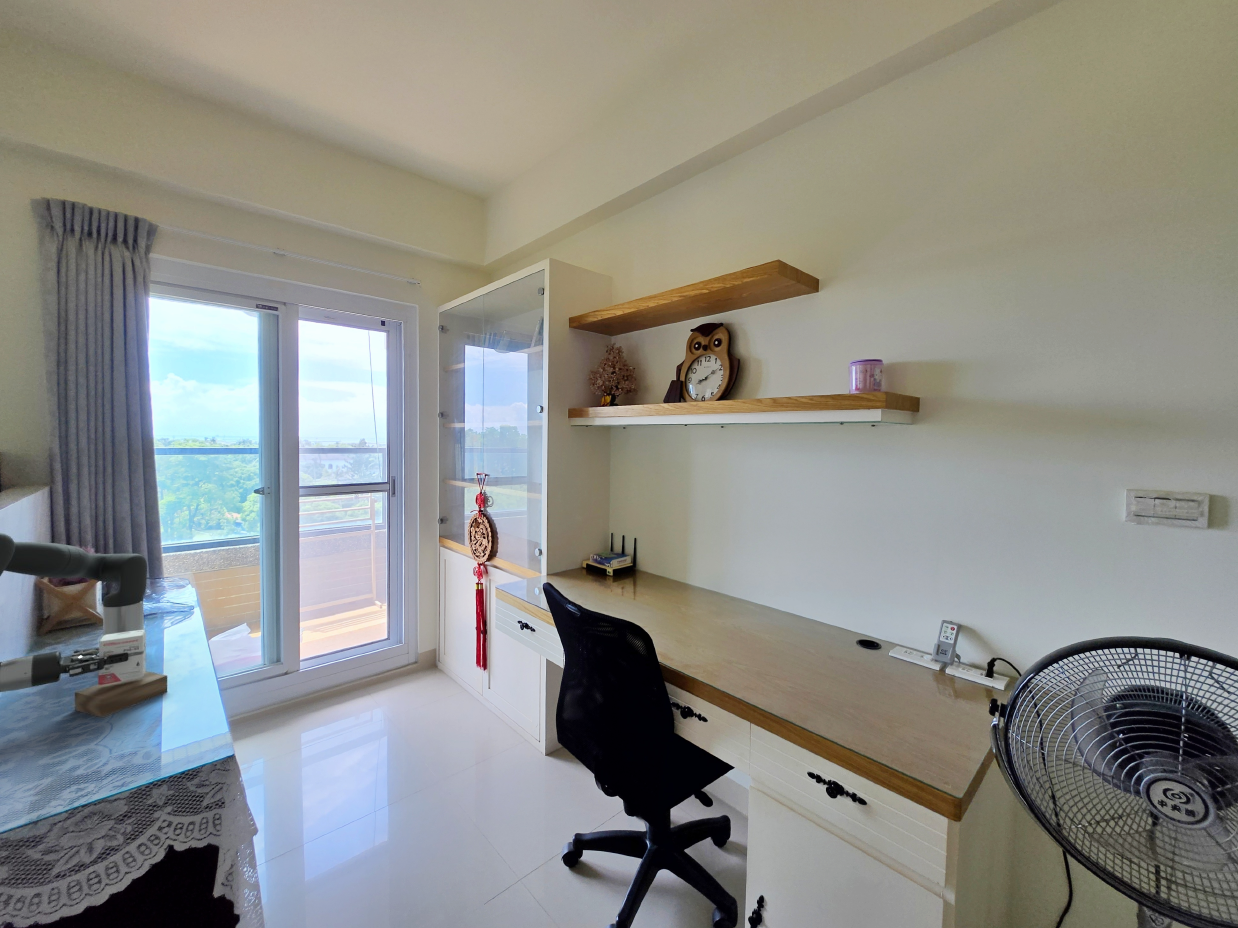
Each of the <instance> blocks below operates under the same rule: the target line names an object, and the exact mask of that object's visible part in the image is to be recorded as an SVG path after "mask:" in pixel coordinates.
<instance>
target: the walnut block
mask: <svg viewBox="0 0 1238 928" xmlns="http://www.w3.org/2000/svg"><path fill="white" fill-rule="evenodd" d="M166 693H168V675H166V674H162V673H157V672H153V671H148V670H145V673H144V675H143V677H141V678H136V679H131V680H125V681H120V682H114V683H109V684H104V685H98V684H95V685H92V686H89V687H85V688H83V689H80V690H77V691H75V692H74V710H75V711H76V712H82V713H84V714H88V715H91V716H92V715H93V716H96V717H99V718H104V717H108V716H110V715H112V714H115V713H117V712H120V711H123V710H125V709H128V708H130V707H134V706H135V705H138V704H140V703H144V702H145V701H148V700H150V699H153V698H156V697H159V696H161V695H163V694H166Z"/></svg>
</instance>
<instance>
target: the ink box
mask: <svg viewBox="0 0 1238 928" xmlns="http://www.w3.org/2000/svg"><path fill="white" fill-rule="evenodd" d="M146 634H147V631H146V630H145V629H144V630H136V631H129V632H121V633H114V634H107V635H104V636H103V635H102V637H100V639H99V641H98V647H99V653H98V655H99V657H101V656H109V655H115V654H120V653H125V652H127V653H128V661H125V662H120V663H115V664H110V665H108V666H106V667H104V669H102V670H98V674H97V675H98V677H97V683H98V685H104V684H109V683H114V682H120V681H125V680H131V679H136V678H141V677H143V675H144V673H145V671H146V652H147V650H146V645H147V644H146V643H147V642H146V641H147V635H146Z"/></svg>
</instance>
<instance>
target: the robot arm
mask: <svg viewBox="0 0 1238 928" xmlns="http://www.w3.org/2000/svg"><path fill="white" fill-rule="evenodd" d="M4 572H8V573H15V574H22V575H28V576H34V577H43V578H53V579H73V578H83V579H88V580H93V581H98V582H100V583H101V582H102V583H108V584H110V583H111V584H112V583H113V584H114V583H115V584H116V583H119V589H118V591H116V592H113V593H109V594H107V595H105V596H104V597H103V600H102V615H103V616H102V625H103V626H102V629H103V635H102V636H104V635H107V634H114V633H121V632H129V631H136V630H145V629H144V626H145V625H144V624H145V622H144V620H145V619H144V596H145V592H146V589H147V578H148V562H147V559H146V557H145V556H144V555H142V554H140V553H109V554H108V553H103V554H102V553H90V552H87V551H86V550H84V549H82V548H80V547H77V546H74V545H70V544H69V545H68V544H61V543H56V542H41V541H40V542H39V541H14V539H13V538H12V537H11V536H10V535H9V534H6V533H1V532H0V577H1V576H2V574H3V573H4ZM125 661H128V653H127V652H125V653H120V654H115V655H109V656H101V657H99V646H98V647H92V648H85V649H77V650H74V651H73V653H72V654H70V655H68V656H64V657H62V652H61V651H59V650H56V651H50V652H43V653H38V654H32V655H28V656H20V657H16V658H13V659H9V660H5V661H0V693H3V692H4V693H6V692H13V691H18V690H19V691H20V690H25V689H28V688H33V687H38V686H43V685H44V686H45V685H47V684H48V685H49V684H54V683H57V682H60V680H61V675H63V674H69V675H68V676H69V678H74V677H77V676H81V675H85V674H89V673H93V672H99V670H102V669H104V667H106V666H108V665H110V664H115V663H120V662H125Z"/></svg>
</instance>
